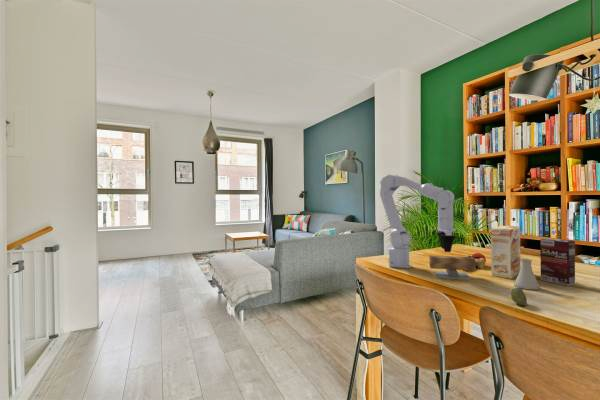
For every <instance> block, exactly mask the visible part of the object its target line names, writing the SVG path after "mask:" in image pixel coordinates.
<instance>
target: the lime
mask: <svg viewBox="0 0 600 400" xmlns="http://www.w3.org/2000/svg"><path fill="white" fill-rule="evenodd" d="M510 298H511V300H512V301H513V302H514V303H515V304H517V305H519V306H521V307H526V306H527V304H528V302H527V301H528V300H527V297H526V294H525V291H524V290H523V288H518V287H515V288H513V289H512V291H511V293H510Z"/></svg>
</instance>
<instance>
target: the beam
mask: <svg viewBox="0 0 600 400" xmlns="http://www.w3.org/2000/svg"><path fill="white" fill-rule="evenodd" d="M428 258H429V267H430V269H435V270H436V269H437V270H446V269H452V270H457V271H463V270H468V271H476V265H475V259H474V258H473V257H466V256H449V255H446V256H445V255H429V257H428Z"/></svg>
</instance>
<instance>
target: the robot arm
mask: <svg viewBox="0 0 600 400" xmlns="http://www.w3.org/2000/svg"><path fill="white" fill-rule="evenodd" d="M379 183H380V191H379V193H380V194H379V196H380V199H381V201H382V205H383V208H384V210H385V213H386V217H387V220H388V223H389V225H390V232H389V235H390V243H391V245H392V247H391V246H389V247H388V256H389V257H388V267H389V268H399V269H400V268H401V269H404V268H405V269H412V267H411V263H410V244H411V241H412V236H411V235H410V234H409V233H408V231H407V229H406V228H405V227H404V226H403V224H402V223H403V222H402V220H401V218H400V213H399V212H398V208H397V205H396V203H395V199H394V197H393V195H394V193H395V192H396V190H398V189H399V188H400V187H407V188H410V189H413V190H415V191H418V192H419V193H420V194H421V196H424V197H426V198H428V199H431V200H433V201H436V203H437V232H436V235H437V236H438V238H439V243H440V247H441V249H442V250H444V252H445V253H451V251H452V248H453V243H454V241H455V239H456V237H457V236H456V235H452V233H453V232H456V231H457V229H456V228H454V207H453V206H454V204H453V202H454V200H455V193H453V192H452V191H450V190H449V189H446V190H444V187H440V186H439V187H438V186H435V185H434V183H431V182H429V183H424V184H422V183H421V182H417V181H415V180H412V179H410V178H408V177H406V176H402V175H401V176H400V175H397V174H394V175H393V174H385V175H383V177H381V180H380V181H379Z"/></svg>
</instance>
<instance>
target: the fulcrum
mask: <svg viewBox="0 0 600 400" xmlns="http://www.w3.org/2000/svg"><path fill="white" fill-rule="evenodd" d="M445 270H446V271H445ZM445 270H434V271H433V273H434V274H435V277H436V278H437V279H445V280H446V279H447V280H460V281H461V280H462V281H464V280H465V281H472V280H473V279H472V277H471V276H469V274H468V273H467V272H463V271H462V272H460V271H459V270H452V269H445Z"/></svg>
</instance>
